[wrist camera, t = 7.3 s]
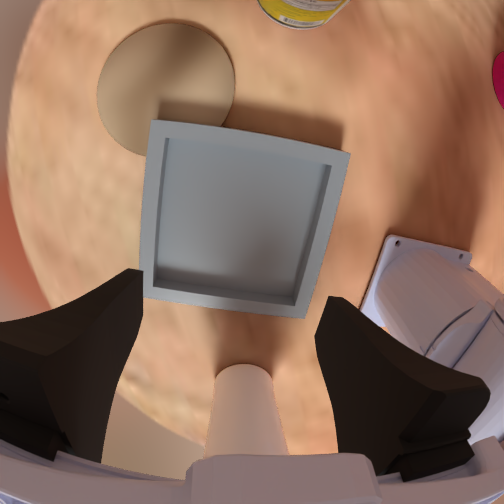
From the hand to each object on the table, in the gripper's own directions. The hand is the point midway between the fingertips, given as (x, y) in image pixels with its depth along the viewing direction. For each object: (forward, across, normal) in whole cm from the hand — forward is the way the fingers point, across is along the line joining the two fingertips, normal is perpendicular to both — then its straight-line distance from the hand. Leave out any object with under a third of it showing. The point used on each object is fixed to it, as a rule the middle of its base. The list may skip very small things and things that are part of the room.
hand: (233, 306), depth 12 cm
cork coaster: (+10, +6, -8) cm, 14 cm away
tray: (+10, 0, 0) cm, 10 cm away
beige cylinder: (+10, -3, +15) cm, 19 cm away
